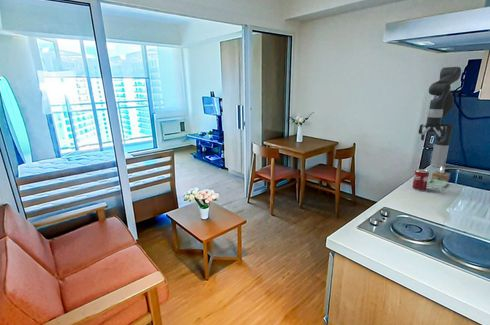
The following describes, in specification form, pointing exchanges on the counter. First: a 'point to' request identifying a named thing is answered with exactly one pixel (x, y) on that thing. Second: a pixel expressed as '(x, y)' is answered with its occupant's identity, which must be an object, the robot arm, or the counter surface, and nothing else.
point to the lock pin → (442, 169)
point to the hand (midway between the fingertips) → (430, 141)
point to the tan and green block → (441, 176)
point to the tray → (437, 184)
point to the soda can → (420, 179)
